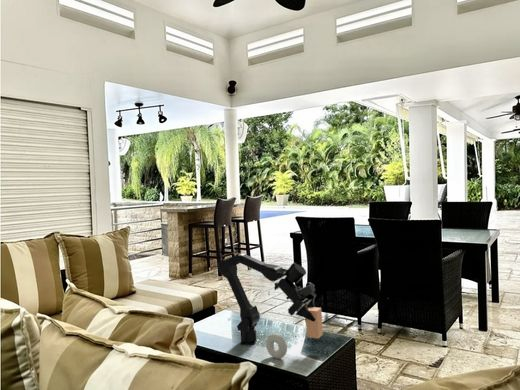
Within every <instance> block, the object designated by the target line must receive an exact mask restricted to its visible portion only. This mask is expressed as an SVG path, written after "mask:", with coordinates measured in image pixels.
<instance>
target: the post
mask: <svg viewBox="0 0 520 390" xmlns="http://www.w3.org/2000/svg"><path fill="white" fill-rule="evenodd" d="M308 310H309V311H310V313H311V314H312V315H313V317H314V318H315V321H314V322H313V321H311V320H309V319H306V318H305V325H306V327H305V328H306V338H311V339H320V338H321V337H322V336H323V335H324V333H323V332H324V331H323V330H324V329H323V315H322V314H323V313H322V307H309V308H308Z"/></svg>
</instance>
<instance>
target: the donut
mask: <svg viewBox="0 0 520 390" xmlns="http://www.w3.org/2000/svg"><path fill="white" fill-rule="evenodd" d="M284 338H285V337H283V336H282V335H281V334H279V333H277V332H272V333H270V334H269V335H268V336H267V338H266V340H265V347H266V350H267V353H268V354H269V355H270V356H271V357H272V358H273V359H279V360H281V359H282V358H284V357H285V356H286V354H287V351H288V346H287V342H286V340H285V339H284ZM275 343H276V344H277V346H278V349H277V348H276V346H275Z"/></svg>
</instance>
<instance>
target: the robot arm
mask: <svg viewBox="0 0 520 390" xmlns="http://www.w3.org/2000/svg"><path fill="white" fill-rule="evenodd" d="M240 264H242V265H243V266H246V267H247V268H250V269H252V270H255V271H257V272H259V273H261V275H263V277H264V278H265V279H267V280H268V281H270V282H274V291H276V290H279V289H280V291H282V292H283V294H285V296H286V297H285V299H287V300H290V301H291V302H292V304H291V305H290V306H289V308H288V309H287V313H288V314H289V315H290V316H291V317H292V316H294V315H295V316H299V317H302V318H304V319H305V320H306V319H309V320H311V321H313V322H314V321H315V318H314V317H313V315H312V314H311V313H310V311H309V310H308V308H309V307H316V306H317V305H315V300H316V297H317V293H315V292H316V288H315V287H316V286H315V284H314V283H312V282H311V281H310V282H307V283H305V286H304V287H301V286H297V285H296V284H298V283H299V282H300V281H301V280H302V278H304V276H305V275H306V274H307V271H306V268H304V267H303V266H301V265H300V264H298V263H296V262H292V263H291V264H290V266H289V268H288V269H287V268H283V267H282V266H281V265H277V264H273V263H266V262H264V261H261V260H259V259H258V258H257V259H256V258H255V257H252V256H250V255H248V254H246V253H244V252H239V253H236V254H235V255H233V256H231V257H227V258H224V259H220V260H219V261H218V264H217V269H218V270H219V272H220V274H221V275H222V276H223V277H224V278H225V279H226V280H227V282H228V284H229V286H230V289H231V291H232V294H233V295H234V298H235V300H236V302H237V304H238V306H239V317H240V321H239V323H238V324H237V325H236V328H237V330H238V331H240V343H239V344H240V345H255V344H256V342H257V340H258V337H257V336H258V335H257V330H256V327H257V325H258V323H259V322H260V318H261V316H260V314H261V313H260V312H259V310H258V307H257V305H252V304H251V303H250V300H249V298H248V296H247V294H246V292H245V289H244V287H243V285H242V283H241V281H240V278H239V276H238V265H240ZM278 280H279V281H278ZM276 281H278V282H276Z"/></svg>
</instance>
